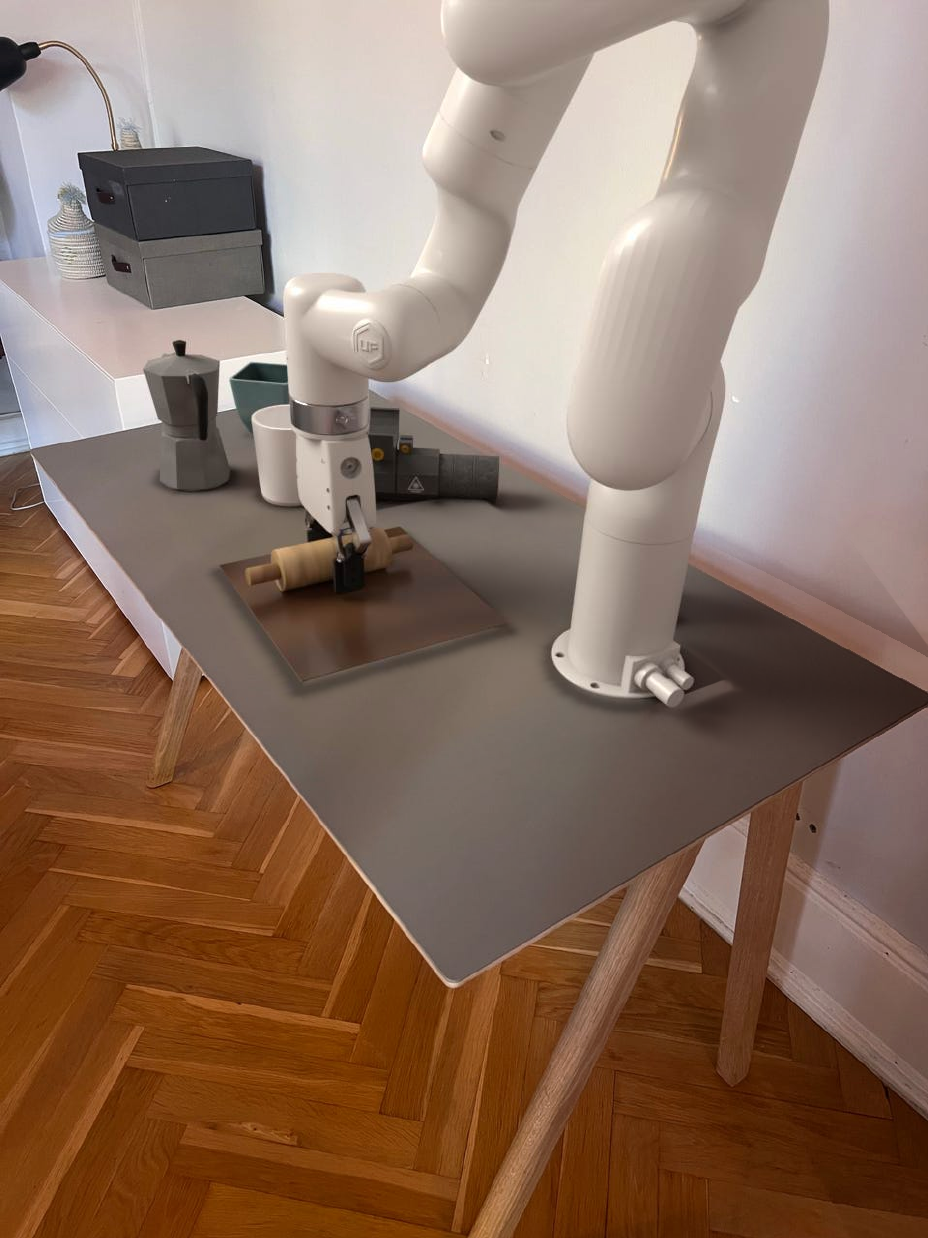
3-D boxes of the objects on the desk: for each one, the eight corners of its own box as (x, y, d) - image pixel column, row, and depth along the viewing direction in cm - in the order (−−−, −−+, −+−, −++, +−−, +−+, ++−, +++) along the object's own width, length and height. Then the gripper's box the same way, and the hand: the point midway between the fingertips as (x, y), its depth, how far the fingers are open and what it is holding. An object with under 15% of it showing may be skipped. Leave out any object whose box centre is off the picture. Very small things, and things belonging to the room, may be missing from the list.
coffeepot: (147, 465, 123) (127, 330, 113) (216, 454, 127) (202, 323, 118) (177, 510, 112) (157, 364, 102) (251, 497, 116) (239, 356, 106)
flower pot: (233, 439, 132) (227, 378, 128) (255, 418, 140) (250, 360, 135) (291, 445, 131) (287, 383, 127) (310, 424, 139) (307, 365, 134)
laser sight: (496, 516, 114) (501, 440, 109) (317, 508, 114) (313, 431, 109) (496, 484, 122) (500, 413, 117) (329, 477, 122) (326, 404, 117)
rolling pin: (399, 548, 103) (417, 568, 100) (242, 583, 95) (256, 606, 92) (401, 515, 101) (419, 534, 98) (239, 548, 93) (254, 570, 90)
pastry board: (507, 631, 92) (508, 622, 91) (301, 690, 82) (301, 681, 81) (399, 533, 109) (400, 526, 109) (219, 572, 99) (218, 564, 99)
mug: (243, 492, 117) (236, 415, 112) (299, 474, 123) (294, 399, 117) (297, 520, 111) (292, 440, 105) (353, 499, 117) (351, 422, 111)
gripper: (405, 436, 82) (404, 605, 92) (330, 381, 95) (336, 535, 105) (328, 449, 79) (335, 623, 89) (261, 390, 92) (273, 548, 101)
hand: (335, 574), depth 97 cm, fingers open, 6 cm apart
